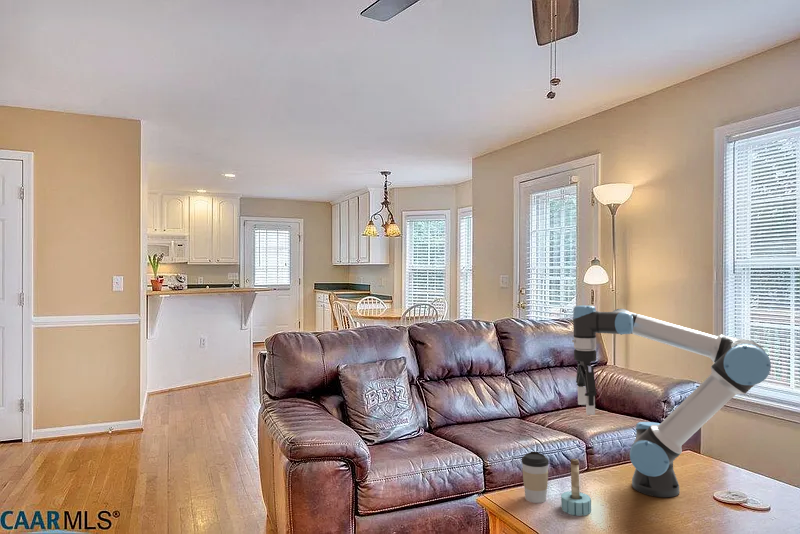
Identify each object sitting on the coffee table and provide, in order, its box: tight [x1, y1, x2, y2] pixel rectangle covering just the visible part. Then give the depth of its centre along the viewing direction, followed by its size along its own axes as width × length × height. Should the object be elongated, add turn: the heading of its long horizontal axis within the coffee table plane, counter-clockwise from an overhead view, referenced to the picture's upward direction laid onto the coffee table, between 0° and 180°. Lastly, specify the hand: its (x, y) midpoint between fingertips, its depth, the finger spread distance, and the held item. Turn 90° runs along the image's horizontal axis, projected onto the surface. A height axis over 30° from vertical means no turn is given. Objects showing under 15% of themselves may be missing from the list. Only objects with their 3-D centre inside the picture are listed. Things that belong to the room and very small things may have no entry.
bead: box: [560, 490, 592, 517], centre depth 171 cm, size 9×9×4 cm
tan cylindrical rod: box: [570, 458, 580, 500], centre depth 171 cm, size 2×2×16 cm
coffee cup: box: [521, 451, 550, 504], centre depth 179 cm, size 9×9×15 cm
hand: (586, 409), depth 185 cm, fingers open, 13 cm apart
